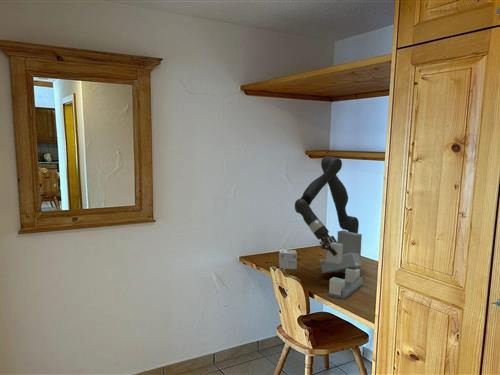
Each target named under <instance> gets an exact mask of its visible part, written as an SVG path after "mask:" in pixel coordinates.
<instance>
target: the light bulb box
mask: <svg viewBox="0 0 500 375" xmlns="http://www.w3.org/2000/svg"><path fill="white" fill-rule="evenodd" d="M278 254H279V255H278V257H279V258H278V267H279V269H280V268H283V269H282V270H297V268H298V267H297V263H298V262H297V260H298V258H297V257H298V255H297V254H298V253H297V250H295V249H279V253H278Z"/></svg>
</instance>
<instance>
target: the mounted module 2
mask: <svg viewBox="0 0 500 375" xmlns="http://www.w3.org/2000/svg"><path fill="white" fill-rule="evenodd" d="M360 272H361V268H360V269H355V268H350V267H349V268H347V269H346V271H345V273H344V274H345V275H344V280H345V282H349V283H353V282H354V281H356V280H357V279H358V278H360V277H361V276H360V275H361V274H360Z"/></svg>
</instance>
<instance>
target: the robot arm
mask: <svg viewBox="0 0 500 375" xmlns="http://www.w3.org/2000/svg"><path fill="white" fill-rule="evenodd" d="M320 166H321V170H322V172H323V173H322V174H321V175H320V176H319V177H317V178H315V179H314V180H313V181H311V182H310V184H309V185H308V186H307V187H306V188H305V189H304V191H303V193H302V196H301V197H300V198H299V199H297V200H296V201H295V202H294V210H295V212H296V213H297V214H300V215H301V216H302V218H303V221H304V223H305V224H306V225H307V226H308V228H309V230H310V231H311V232H312V233H313V235H314V236H315V237H316V239H317V240H320V241H319V244H320V245H321V246H322V248H324V250H325V251H327V250H329V251H330V252H331V253H332V254H333V256H335V255H337V253H336V252H335V250H334V249H332V246H331V243H332V242H335V243H337V238H335V236H334V235H331V236H330V234H329V232H330V230H328V228H327V227H326V226H325V225H324V223H323V222H322V220H320V219H319V218H318V216H317V215H316V214H315V213H314V211H313V209H312V208H311V204H312V202H313V201H314V199H315V198H316V197H317V196H318V194H319V193H320V191H321V190H322V189H323V188H324V187H325V186H326V185H327V184H328V187H329V188H328V189H329V191H330V194H331V195H330V196H331V197H332V200H333V203H334V207H335V209H336V210H335V211H336V214H337V221H338V225H339V227H340V229H341V230H344V231H348V232H353V233H358V234H359V227H360V226H359V225H360V224H359V220H358V218H357V217H355V216H352V215H351V216H350V215H348V214H347V210H346V207H347V204H348V200H349V196H348V192H347V189H346V187H345V185H344V184H343V182H342V181H341V180H340V178H339V177H338V175H337V174H338V173H339V172H340V171H341V169H342V167H343V162H342V159H341V158H339V157H336V156H335V157H334V156H324V157H323V158H322V159H321V162H320Z"/></svg>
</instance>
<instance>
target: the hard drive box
mask: <svg viewBox="0 0 500 375" xmlns="http://www.w3.org/2000/svg"><path fill="white" fill-rule="evenodd" d="M326 259H327V258H325V259H319V264H320V268H321V273H322V274H330V273H331V274H332V273H335V272H339V271H341V270H345V269H347V268H349V267H350V268H353V267H358V266H360V267H361V266H363V264H362V261H361V258H360V256H359V253H348V254H344V255H342V262H341V263H339V264H336V263H331V262H326Z"/></svg>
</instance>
